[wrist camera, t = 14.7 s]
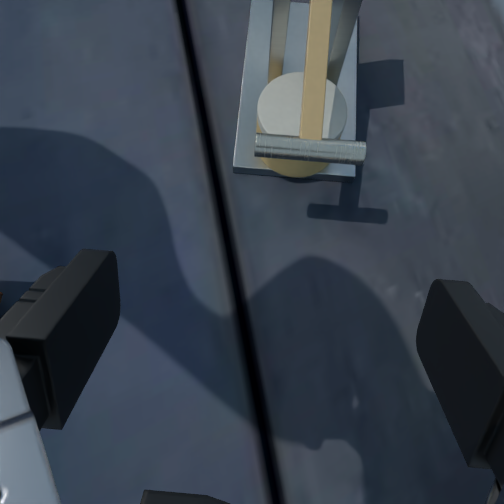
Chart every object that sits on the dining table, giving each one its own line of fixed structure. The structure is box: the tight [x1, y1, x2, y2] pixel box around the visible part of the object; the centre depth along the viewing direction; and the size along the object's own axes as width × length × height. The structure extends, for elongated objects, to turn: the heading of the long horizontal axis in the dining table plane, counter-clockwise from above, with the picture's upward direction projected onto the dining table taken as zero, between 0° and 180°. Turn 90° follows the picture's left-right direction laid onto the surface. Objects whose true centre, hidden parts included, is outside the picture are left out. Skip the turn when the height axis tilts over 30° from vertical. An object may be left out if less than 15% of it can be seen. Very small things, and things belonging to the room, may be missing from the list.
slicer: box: [233, 0, 362, 183], centre depth 28 cm, size 16×9×15 cm, turn 175°
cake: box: [256, 72, 348, 177], centre depth 31 cm, size 6×6×4 cm
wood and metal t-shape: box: [254, 0, 366, 165], centre depth 22 cm, size 14×6×2 cm, turn 176°
